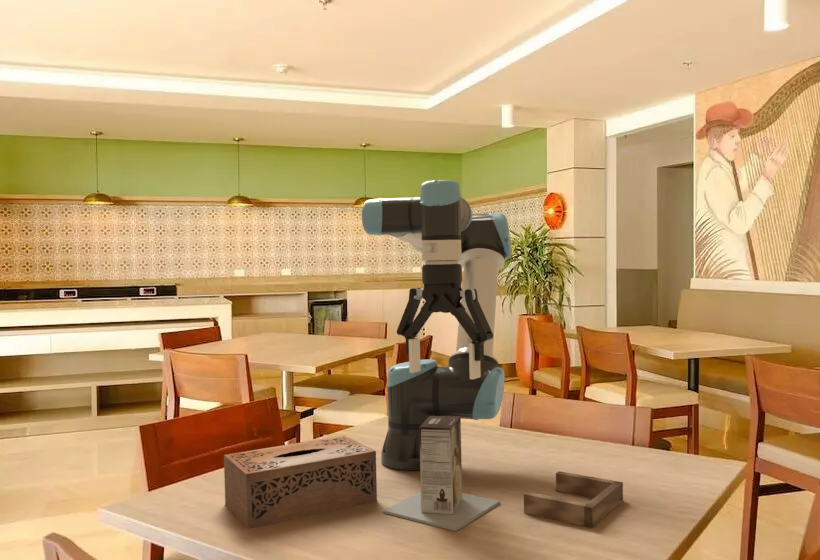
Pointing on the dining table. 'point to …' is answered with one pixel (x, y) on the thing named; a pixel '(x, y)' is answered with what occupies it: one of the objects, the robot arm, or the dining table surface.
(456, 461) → the coffee box
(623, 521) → the dining table surface
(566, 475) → the wooden u-shaped frame
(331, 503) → the tissue box cover
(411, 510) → the grey mat
